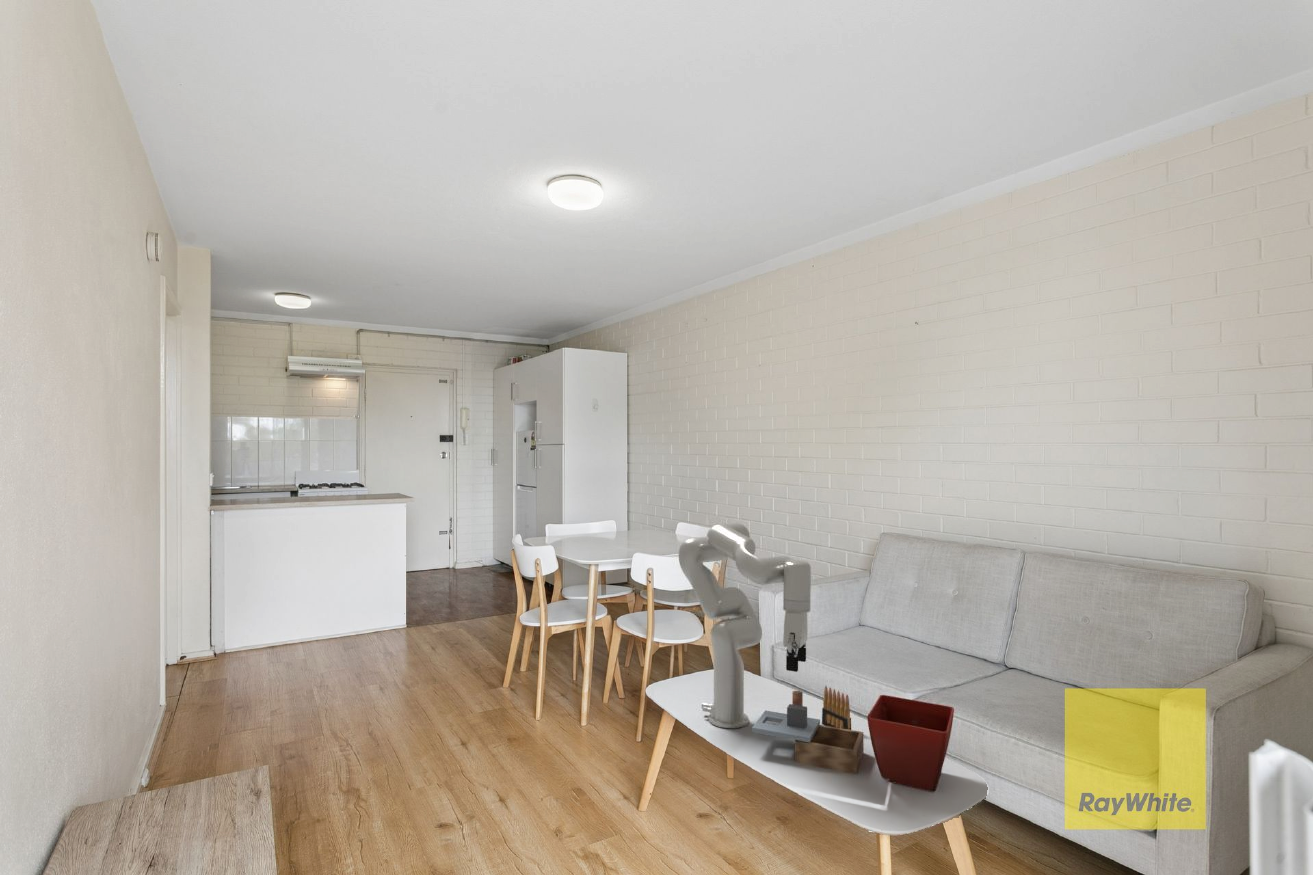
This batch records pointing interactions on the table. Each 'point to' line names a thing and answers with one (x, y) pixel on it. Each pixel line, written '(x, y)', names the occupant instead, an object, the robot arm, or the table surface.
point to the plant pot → (910, 740)
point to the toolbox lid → (788, 724)
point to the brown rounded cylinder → (797, 698)
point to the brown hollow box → (832, 749)
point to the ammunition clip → (836, 710)
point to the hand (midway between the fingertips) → (796, 665)
